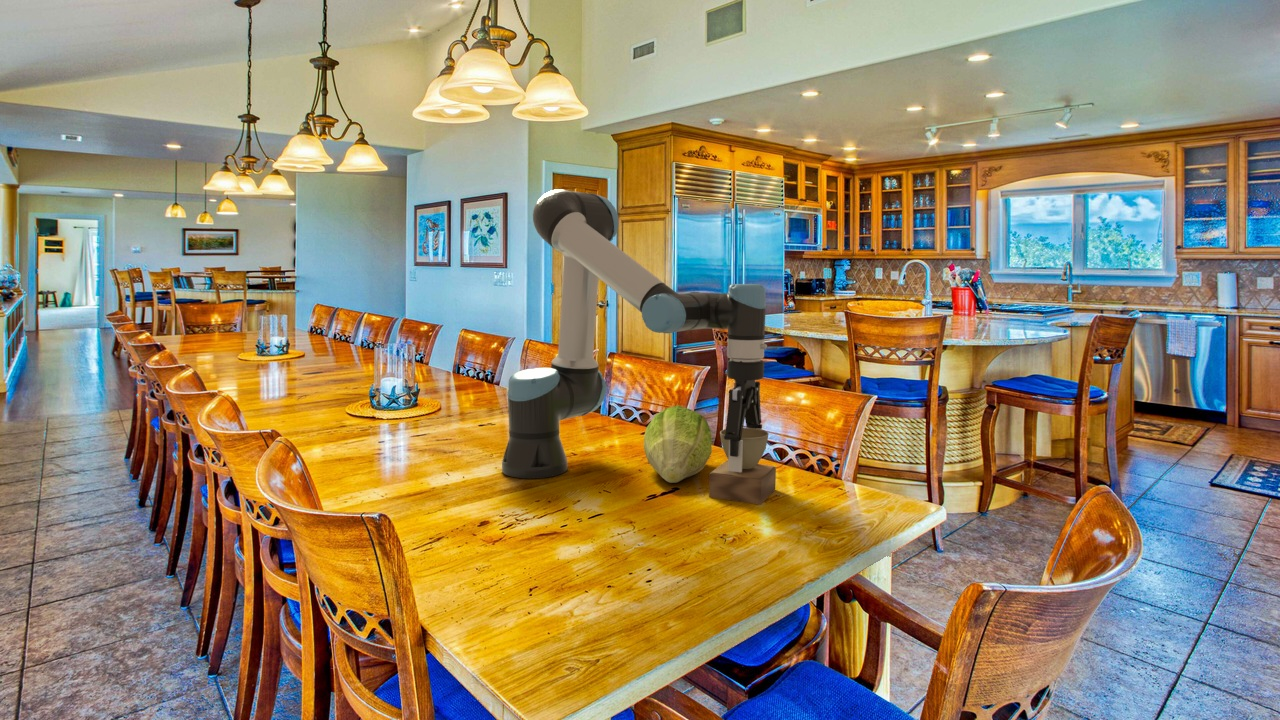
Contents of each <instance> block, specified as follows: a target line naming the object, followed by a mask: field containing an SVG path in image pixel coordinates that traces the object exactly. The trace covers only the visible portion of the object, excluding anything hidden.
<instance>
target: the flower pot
mask: <svg viewBox="0 0 1280 720" xmlns="http://www.w3.org/2000/svg"><path fill="white" fill-rule="evenodd" d="M725 432H726V428H725V429H722V430H720V431H719V435H720V442H721V446H722V448H723V451H724V455H725V456H726V458H727V459H728V457H729V440H725V439H724V436H725ZM733 433H734V432H733ZM768 439H769V432H768V431H766V430H763V429H754V428H747V427H743V431H742V437H741V440H743V456H742V469H751V468H754V467H756V466H757V464H760V461H761V459H762V457H763V455H764V452H765V450H766V447H767V444H768Z"/></svg>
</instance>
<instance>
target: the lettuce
mask: <svg viewBox="0 0 1280 720" xmlns="http://www.w3.org/2000/svg"><path fill="white" fill-rule="evenodd" d="M643 437H644V438H643V449H644V455H645V456H646V460H647V462H648V463H649V465H650V466H651V467H652V468H653V469H654V470H655V472H656V473H657V474H659V476H660V477H661V478H662V479H664V481H666V482H668V483H669V484H672V483H679V482H681V481H682V480H684V479H687V478H690V477H692V476H694V475H696V474H698V473H700V472H701V471H702V470H703V469H704V468H705V465H706V464H707V462H708V461H709V459H710V457H711V455H712V453H713V451H712V449H713V447H712V431H711V428H710V425H709V424H708V421H707V419H705V417H704V416H702V414H700V413H699V412H696V411H694V410H692V409H689V408H687V407H685V406H682V405H679V404H678V405H673V406H670V407H669V406H668V407H667V408H665V409H663V410H660V411H659V412H657V413H656V414H655V415H654V417H653V418H652V419H651V420H650V422H649V423H648V425H647V426H646V429H645V431H644V435H643Z"/></svg>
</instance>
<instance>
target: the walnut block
mask: <svg viewBox="0 0 1280 720" xmlns="http://www.w3.org/2000/svg"><path fill="white" fill-rule="evenodd" d="M776 473H777V466H774V465H768V464H760V463H758V464H757V466H756V467H754V468H751V469H742V472H734V471H728V459H727V460H725V462H723V463H722V464H720V465H719V466H717V467H716V468H715V469H713V470H712V471H710V472H709V478H708V479H709V485H708V488H709V489H708V497H709V498H714V499H720V500H726V501H727V500H728V501H732V502H742V503H746V504H754V505H763V503H764V502H765V501H766V500H767V499H768V498H769V497H770V496H771V494H773V493H774V492H775V491H776V483H777V482H776V478H777V477H776V476H777V474H776Z"/></svg>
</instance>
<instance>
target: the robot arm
mask: <svg viewBox="0 0 1280 720" xmlns="http://www.w3.org/2000/svg"><path fill="white" fill-rule="evenodd" d="M532 222H533V226H534V228H535V230H536V232H537V234H538V235H539V236H540V237H541V238H542V239H543V240H544V242H545V243H547V244H548V245H549V246H551V248H553V249H554V250H555V251H557V252H560V253H561V254H562V255H563V258H564V259H563V271H562V286H561V287H562V288H561V302H560V303H561V304H560V319H559V320H560V321H559V332H558V333H559V334H558V350H557V351H558V352H557V355H556V356H555V357H554V358H553V359H552V360H551V364H550V365H551V366H550V367H535V368H528V369H523V370H520V371H517V372H515V373H513V374H512V375H511V376H510V377H509V379H508V386H507V392H506V393H507V394H506V395H507V405H508V441H507V445H506V448H505V451H504V454H503V457H502V461H501V472H502V474H504V475H506V476H508V477H511V478H516V479H531V480H532V479H533V480H534V479H545V478H551V477H552V478H553V477H555V476H559V475H562V474H565V473H566V471H568V458H567V455H566V452H565V450H564V446H563V444H562V440H561V437H560V436H561V435H560V422H561V421H563V420H567V419H573V418H574V417H575V418H576V417H583V416H586V415H588V414H590V413H592V412H594V411H596V410H598V409H599V407H600V406H602V403H603V402H604V400H605V397H606V394H607V383H606V379H605V378H603V377H604V376H603V374H602V372H601V371H600V370H599V363H598V361H597V360H596V359H595V358H594V351H595V349H594V346H595V336H596V335H595V333H596V323H597V322H596V321H597V305H598V295H599V293H598V292H599V280H600V281H601V282H603V283H604V284H606V286H608V287H609V288H611V290H612V291H614V292H615V293H617V294H618V295H619V296H620V297H621V298H622V299H624V300H625V301H626V302H627V303H629V304H630V305H631V306H632V307H634V308H635V309H637V310H638V311H639V312H641V317H642V320H643V323H644V325H645V327H646V328H647V329H648V330H650V331H652V332H654V333H658V334H673V333H677V332H684V331H691V330H692V331H693V330H702V329H708V330H709V329H714V330H715V329H717V330H727V344H726V345H727V351H726V356H727V358H728V361H727V362H726V377H727V378H728V379H729V380H730V379H731V380H734V381H735V383H734V387H733V388H732V389H729V390H728V405H727V414H726V415H727V416H726V422H725V423H726V424H725V429H726V432H725V436H724V439H725V440H729V457H728V458H727V460H728V471H734V472H742V456H743V440H741V437H742V431H743V428H744V424H745V426H746V427H745V428H754V429H760V430H763V429H762V428H763V424H762V411H761V410H762V408H761V397H760V396H761V395H760V388H761V383H760V380H762V379H763V378H764V376H765V372H764V371H765V362H764V361H763V360H762V359H764V358H765V350H766V349H767V347H768V345H767V343H765V338H766V337H765V336H766V335H765V331H766V328H765V327H766V312H767V311H766V309H767V302H766V300H767V299H766V288H765V287H764V285H762V284H761V283H760V284H758V283H757V284H755V283H744V284H743V283H732V284H730V285H729V286H728V291H727V292H725V293H718V292H716V293H715V292H699V291H689V292H684V293H683V292H682V293H678V292H676V291H675V290H673V288H671V287H670V286H668V285H667V284H666V283H664V282H663V281H662V280H661V279H659V277H657V276H655V275H654V274H653V273H652V272H650V271H649V270H648V269H646V268H645V267H644V266H642V265H641V264H640V263H639V262H637V261H636V260H635V259H633V258H632V257H631V256H630V255H629V254H627V253H626V252H624V251H623V250H621V248H619V247H618V246H616V245H615V244H614V243H613V242H612V241H613V240H614V237H616V235H617V233H618V230H619V224H620V223H619V216H618V211H617V209H616V208H615V206H614V205H613V203H612V202H611V201H610V200H609V199H608V198H607V197H604V196H602V195H598V194H595V193H590V192H589V193H588V192H581V191H574V190H567V189H561V188H560V189H559V188H558V189H553V190H550V191H548V192H546V193H544V194H543V195H541V197H539V199H538V200H537V202H536V203H535V205H534V208H533V212H532ZM758 380H759V381H758ZM733 432H734V433H733Z"/></svg>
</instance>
